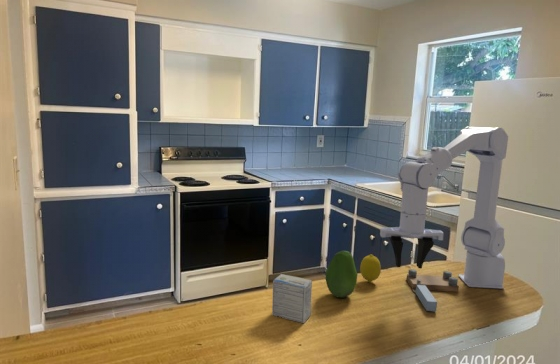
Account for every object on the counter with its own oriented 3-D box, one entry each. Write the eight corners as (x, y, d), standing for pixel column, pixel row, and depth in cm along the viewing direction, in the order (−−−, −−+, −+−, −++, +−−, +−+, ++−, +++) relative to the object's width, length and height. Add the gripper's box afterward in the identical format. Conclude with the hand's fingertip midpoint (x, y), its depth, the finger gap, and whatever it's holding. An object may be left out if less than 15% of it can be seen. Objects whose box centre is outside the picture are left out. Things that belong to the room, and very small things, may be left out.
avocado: (360, 294, 104) (363, 249, 102) (348, 305, 97) (351, 258, 95) (332, 286, 108) (334, 243, 106) (318, 297, 101) (321, 251, 99)
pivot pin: (421, 289, 108) (422, 278, 107) (424, 294, 105) (425, 282, 105) (411, 289, 108) (412, 277, 107) (413, 293, 105) (415, 282, 105)
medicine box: (311, 315, 92) (312, 279, 90) (303, 324, 88) (305, 287, 86) (279, 308, 95) (280, 273, 94) (271, 316, 91) (272, 279, 90)
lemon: (378, 278, 114) (380, 251, 113) (380, 286, 109) (383, 258, 108) (358, 277, 115) (360, 250, 114) (360, 285, 109) (362, 257, 108)
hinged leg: (414, 291, 106) (415, 283, 105) (423, 292, 105) (424, 283, 105) (426, 310, 95) (427, 301, 95) (436, 311, 95) (437, 301, 95)
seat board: (449, 281, 114) (450, 271, 113) (458, 291, 107) (459, 280, 107) (406, 279, 115) (407, 269, 114) (412, 289, 108) (413, 278, 108)
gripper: (385, 214, 93) (381, 270, 95) (450, 217, 92) (444, 274, 94) (380, 208, 100) (376, 260, 102) (439, 210, 99) (434, 263, 101)
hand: (408, 266), depth 98 cm, fingers open, 4 cm apart
